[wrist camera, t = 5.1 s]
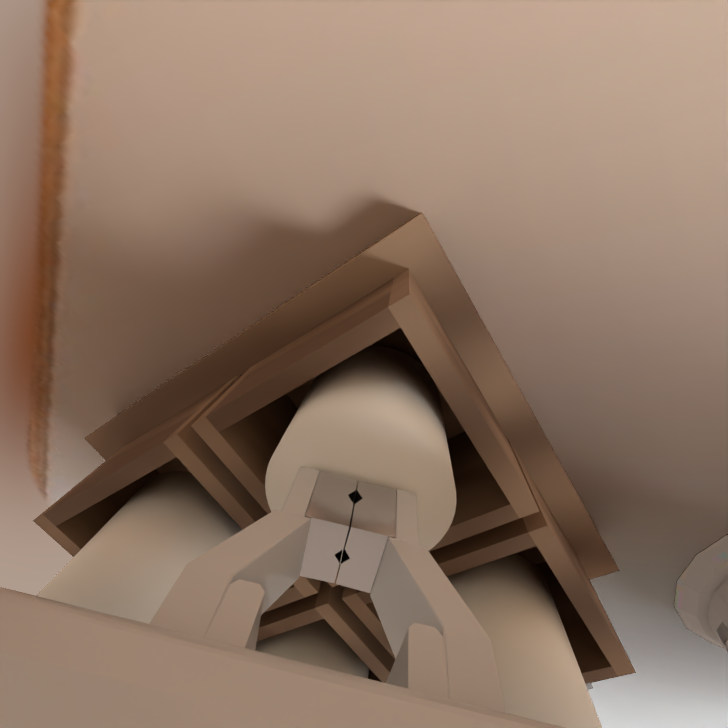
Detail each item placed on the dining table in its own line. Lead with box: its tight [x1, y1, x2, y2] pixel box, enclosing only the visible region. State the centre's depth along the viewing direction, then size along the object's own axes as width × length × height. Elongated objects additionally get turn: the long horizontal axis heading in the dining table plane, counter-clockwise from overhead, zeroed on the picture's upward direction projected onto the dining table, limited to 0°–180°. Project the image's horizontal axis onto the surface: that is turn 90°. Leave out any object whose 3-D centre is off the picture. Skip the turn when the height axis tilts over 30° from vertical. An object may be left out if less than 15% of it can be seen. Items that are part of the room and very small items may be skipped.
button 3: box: [447, 553, 602, 728], centre depth 12 cm, size 5×5×5 cm
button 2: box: [36, 471, 243, 624], centre depth 12 cm, size 5×5×5 cm
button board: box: [34, 213, 636, 684], centre depth 16 cm, size 18×18×6 cm
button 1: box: [265, 345, 456, 551], centre depth 12 cm, size 5×5×5 cm
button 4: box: [255, 619, 369, 679], centre depth 14 cm, size 5×5×5 cm
